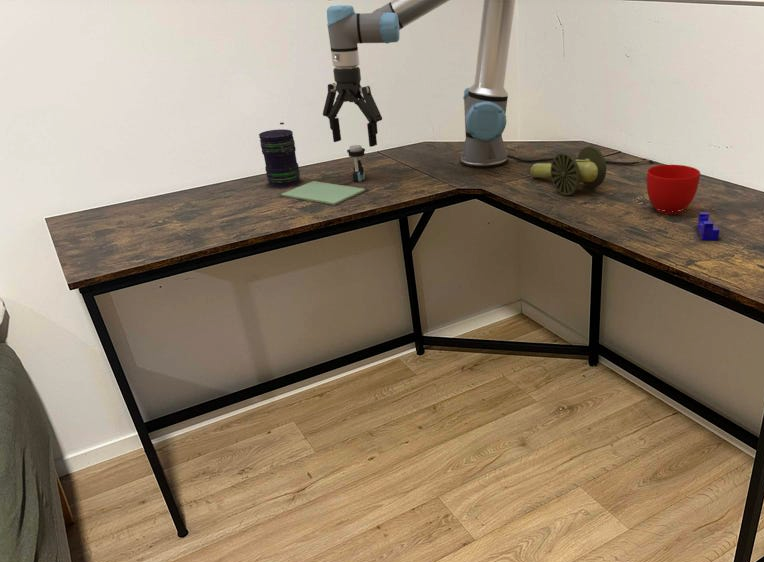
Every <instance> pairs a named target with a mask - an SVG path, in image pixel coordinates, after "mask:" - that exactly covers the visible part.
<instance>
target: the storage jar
mask: <svg viewBox="0 0 764 562" xmlns="http://www.w3.org/2000/svg"><path fill="white" fill-rule="evenodd" d="M279 125H285V122H279ZM258 137H259V142H260V148H261V153H262V155H263V158H264V164H265V168H264V169H265V172H266V173H265V175H266V178H267V181H268V186H269V187H270V188H273V189H287V188H293V187H297V186H299V185H300V184H301V183H302V180H301V171H300V165H299V163H298V161H297V156H296V155H297V154H296V151H297V150H296V143H295V139H294V133H293V130H291V129H280V128H279V129H269V130H265V131H262V132H260V133H259V134H258Z"/></svg>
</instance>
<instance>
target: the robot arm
mask: <svg viewBox="0 0 764 562" xmlns="http://www.w3.org/2000/svg"><path fill="white" fill-rule="evenodd" d="M448 2H450V0H391V1H390V2H388V3H386V4H384V5H383V6H381V7H379V8H377V9H375V10H373V11H372V12H367V13H363V12H362V13H360V12H359V13H358V12H355V8H354V7H353V5H350V4H347V5H345V4H341V5H340V4H338V5H337V4H336V5H330V6H328V7H327V9H326V21H327V24H326V26H327V31H328V39H329V45H330V53H331V62H332V66H333V67H334V68H333V69H332V72H333V78H334V82H332V83H328V84H327V94H326V98H325V102H324V106H323V111H322V116H323V117H326V118H328V121H329V122H328V123H329V129H330V130H331V131H332V140H333V143H337V142H340V141H342V134H341V126H340V119H339V117H338V114H339V112H340V111H341V109H342V107H343V104H344V103H346V102H349V103H354V104H355V105H356V106H357V107H358V108H359V110H360V112H361V113H362V114H363V116H365V118H366V120H367V121H368V123H366V126H367V137H368V146H369V147H370V148H372V147H376V146H378V140H377V135H378V122H380V121H383V117H382V114H381V112H380V110H379V107H378V106H377V103H376V101H375V99H374V97H373V95H372V90H371V86H370V85H366V86H362V85H361V80H362V76H361V68H360V67H359V65H360V64H361V63H360V55H359V47H358V44H391V43H398V42H399V41H400V39H401V38H400V37H401V36H400V34H401V33H400V30H402V29H403V28H405V27H406V26H408V25H410V24H412V23H413V22H415V21H417V20H419V19H420V18H422V17H424V16H425V15H427V14H429V13H431V12H432V11H435V10H436V9H437V8H439V7H441V6H442V5H444V4H446V3H448ZM482 2H483V4H482V14H481V20H480V21H481V22H480V28H479V30H480V31H479V40H478V48H477V57H476V58H477V59H476V65H475V67H476V68H475V76H474V82H473V84H472V85H471V86H470V87H466V88H465V89H464V91H463V96H462V98H463V105H464V106H463V108H464V129H465V139H464V143H463V147H462V151H461V154H460V163H461V165H463V166H464V167H470V168H478V169H486V168H487V169H488V168H489V169H490V168H495V167H500V166H501V167H502V166H503V165H505V164H507V163H508V162H509V159H511V160H516V161H519V162H523V163H536V162H537V163H538V162H544V161H546V162H547V161H553V159H554V158H555V157H545V158H535V159H523V158H519V157H516V156H513V155H509V154H508V151H507V148H506V146H505V143H504V140H503V133H504V131H505V129H506V126H507V116H506V113H507V107H508V98H509V93H508V91H507V90H506V88H505V80H506V73H507V66H508V58H509V51H510V43H511V36H512V29H513V28H512V27H513V20H514V12H515V5H516V0H483V1H482ZM573 158H574V159H575V160H577V158H578V157H573ZM646 159H647V158H641V160H646ZM605 162H606V164H612V165H623V166H625V165H627V166H630V165H637V164H640V163H642V162H644V161H642V162H635V161H632V162H631V161H629V162H627V161H626V162H625V161H623V162H622V161H614V160H613V161H612V160H605ZM647 162H648V163H650V164H651V165H654V164H655V163H654V161H653V160H651V159H650V161H647Z"/></svg>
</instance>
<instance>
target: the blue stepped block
mask: <svg viewBox="0 0 764 562" xmlns="http://www.w3.org/2000/svg"><path fill="white" fill-rule="evenodd" d="M697 218H698V219H697V227H696V229H697V231H698V234H699V236H700V238H701V240H702V241H719V236H720V228H719V227H718V226H714V225H715V224H714V221H710V220H709V219H710V213H709V212H708V211H699V212H698V217H697ZM698 224H699V225H698ZM700 230H701V231H700Z"/></svg>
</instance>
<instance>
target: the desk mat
mask: <svg viewBox="0 0 764 562" xmlns="http://www.w3.org/2000/svg"><path fill="white" fill-rule="evenodd" d="M364 192H366V188H362V187H355V186H349V185H344V184H343V185H341V184H337V183H330V182H323V181H315V180H313V181H310V182H307V183H305V184H301V185H300V186H298V187H297V186H296V187H295V188H293V189H290V190H287V191H285V192H282V193H280V196H281V197H284V198H291V199H297V200H303V201H308V202H314V203H321V204H326V205H331V206H336V205H338V204H340V203H342V202H345V201H347V200H349V199H352V198H353V197H355V196H357V195H360V194H362V193H364Z"/></svg>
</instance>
